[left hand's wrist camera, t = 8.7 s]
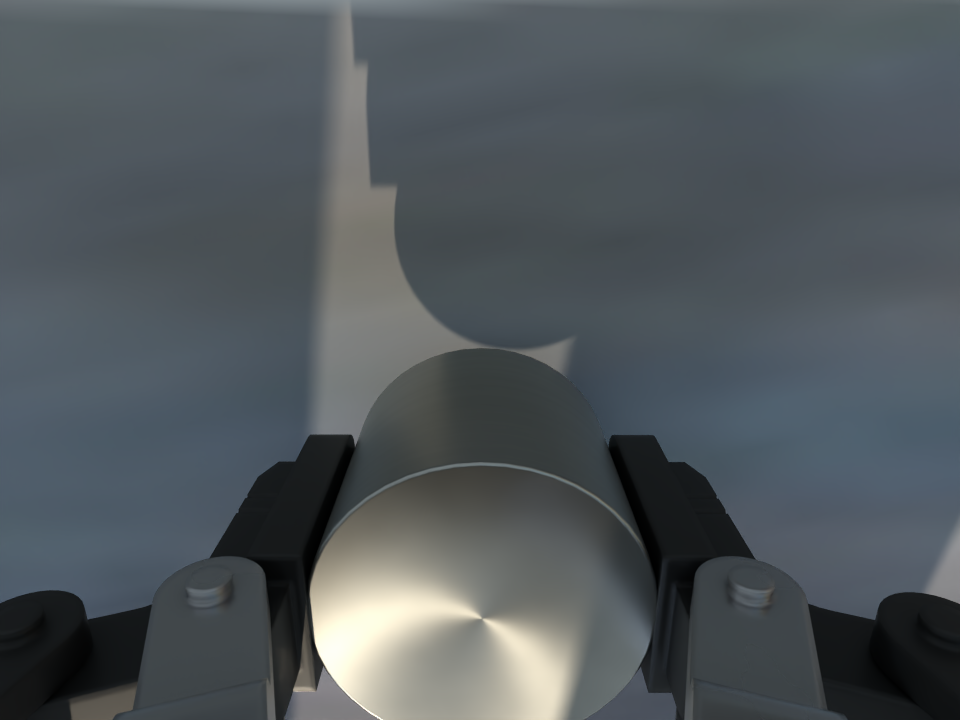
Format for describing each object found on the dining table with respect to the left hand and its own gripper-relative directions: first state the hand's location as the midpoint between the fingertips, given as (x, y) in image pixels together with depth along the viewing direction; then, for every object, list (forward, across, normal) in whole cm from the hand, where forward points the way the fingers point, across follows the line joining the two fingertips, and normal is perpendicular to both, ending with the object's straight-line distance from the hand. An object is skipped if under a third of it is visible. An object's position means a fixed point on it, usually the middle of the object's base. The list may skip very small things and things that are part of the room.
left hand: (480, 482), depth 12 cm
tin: (+1, 0, 0) cm, 1 cm away
